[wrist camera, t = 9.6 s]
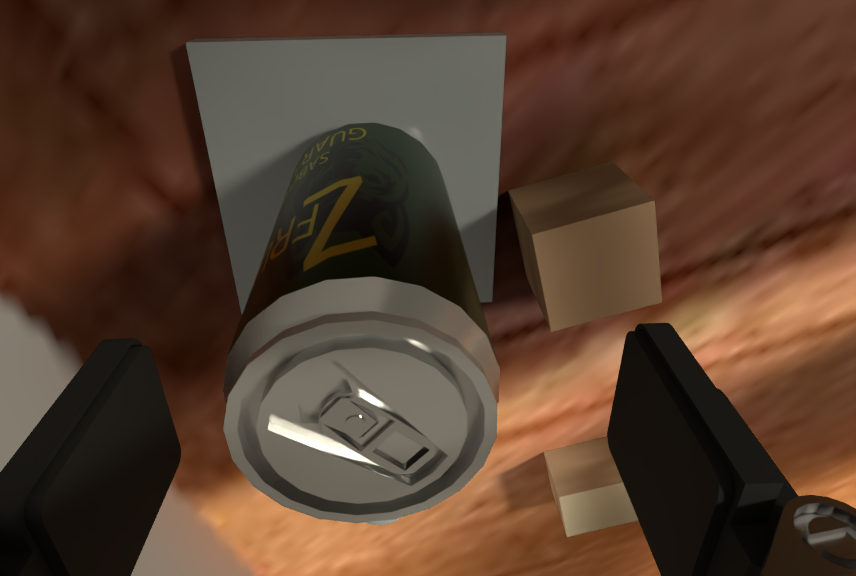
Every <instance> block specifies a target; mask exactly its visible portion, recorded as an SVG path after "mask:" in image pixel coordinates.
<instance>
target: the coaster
mask: <svg viewBox="0 0 856 576" xmlns="http://www.w3.org/2000/svg"><path fill="white" fill-rule="evenodd" d="M186 47H187V52H188V57H189V62H190V66H191V71H192V76H193V81H194V86H195V91H196V96H197V100H198V105H199V110H200V115H201V120H202V125H203V130H204V134H205V139H206V144H207V149H208V154H209V159H210V164H211V168H212V173H213V178H214V183H215V188H216V193H217V197H218V202H219V207H220V212H221V217H222V222H223V227H224V231H225V236H226V241H227V246H228V251H229V256H230V261H231V265H232V270H233V275H234V280H235V285H236V290H237V295H238V299H239V304H240V309H241V314H243V311H244V309H245V306H246V303H247V300H248V298H249V295H250V292H251V289H252V286H253V284H254V281H255V278H256V275H257V273H258V270H259V267H260V264H261V261H262V259H263V256H264V253H265V250H266V248H267V245H268V242H269V239H270V236H271V234H272V231H273V228H274V225H275V223H276V220H277V217H278V214H279V211H280V209H281V206H282V203H283V200H284V197H285V195H286V192H287V189H288V186H289V184H290V181H291V178H292V175H293V172H294V170H295V168H296V167H297V165H298V163H299V161H300V159H301V158H302V156H303V154H304V152H305V151H306V149H307V148H309V147H310V146H311V145H312V144H313V143H314V142H316V141H317V140H318V139H319V138H320V137H321V136H323V135H324V134H325V133H327V132H330V131H332V130H335V129H337V128H340V127H342V126H345V125H347V124H356V123H372V122H375V123H379V124H383V125H387V126H391V127H395V128H399V129H401V130H403V131H404V132H406V133H407V134H409V135H410V136H412V137H414V138H415V139H417V140H418V141H420V142H421V143H422V144H423V145H424V146H425V148H426V149H427V150H428V151H429V152H430V154H431V155H432V156H433V157H434V159H435V160H436V161H437V163H438V166H439V168H440V171H441V174H442V176H443V179H444V182H445V185H446V188H447V191H448V195H449V198H450V202H451V205H452V208H453V212H454V215H455V219H456V222H457V225H458V229H459V232H460V236H461V239H462V242H463V246H464V249H465V252H466V256H467V259H468V263H469V266H470V269H471V273H472V276H473V280H474V283H475V286H476V290H477V293H478V297H479V300H480V303H481V302H492V295H493V276H494V257H495V239H496V220H497V201H498V183H499V164H500V145H501V126H502V108H503V89H504V70H505V52H506V35H505V34H504V33H502V32H490V33H443V34H397V35H350V36H303V37H257V38H210V39H191V40H189V41H187V42H186Z"/></svg>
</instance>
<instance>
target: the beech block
mask: <svg viewBox="0 0 856 576" xmlns="http://www.w3.org/2000/svg"><path fill="white" fill-rule="evenodd" d="M544 456H545V461H546V466H547V470H548V475H549V480H550V485H551V490H552V493H553V496H554V499H555V502H556V505H557V508H558V511H559V514H560V517H561V520H562V524H563V527H564V530H565V533H566V536H567V537H569V536H574V535H578V534H582V533H587V532H591V531H596V530H600V529H604V528H609V527H613V526H617V525H622V524H626V523H630V522H635V521H639V520H638V518H637V515H636V513H635V510H634V508H633V506H632V503H631V501H630V498H629V496H628V493H627V491H626V489H625V486H624V484H623V481H622V479H621V476H620V474H619V472H618V469H617V467H616V464H615V462H614V459H613V457H612V455H611V452H610V449H609V446H608V439H607V437H604V438H600V439H595V440H591V441H587V442H583V443H578V444H574V445H570V446H566V447H561V448H557V449H553V450H549V451H545V452H544Z"/></svg>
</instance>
